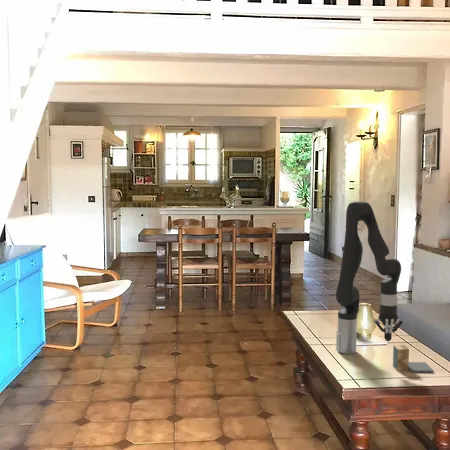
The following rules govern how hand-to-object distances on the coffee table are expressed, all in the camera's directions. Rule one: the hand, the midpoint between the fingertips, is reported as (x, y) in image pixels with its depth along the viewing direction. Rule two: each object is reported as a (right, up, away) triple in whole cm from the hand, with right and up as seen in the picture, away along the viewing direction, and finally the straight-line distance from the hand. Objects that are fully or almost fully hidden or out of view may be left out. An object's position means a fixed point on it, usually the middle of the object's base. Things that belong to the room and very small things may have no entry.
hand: (387, 340), depth 233 cm
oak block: (+6, -13, +1) cm, 14 cm away
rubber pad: (+14, -13, +1) cm, 19 cm away
